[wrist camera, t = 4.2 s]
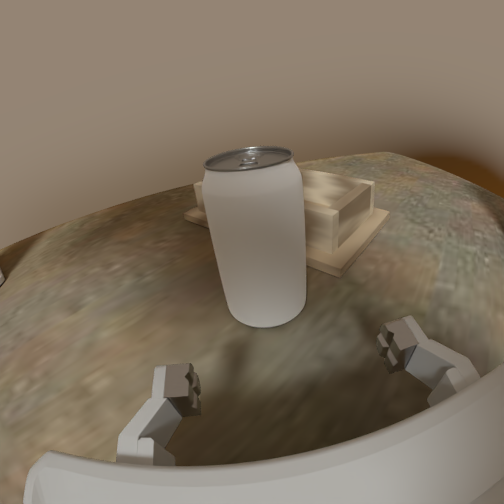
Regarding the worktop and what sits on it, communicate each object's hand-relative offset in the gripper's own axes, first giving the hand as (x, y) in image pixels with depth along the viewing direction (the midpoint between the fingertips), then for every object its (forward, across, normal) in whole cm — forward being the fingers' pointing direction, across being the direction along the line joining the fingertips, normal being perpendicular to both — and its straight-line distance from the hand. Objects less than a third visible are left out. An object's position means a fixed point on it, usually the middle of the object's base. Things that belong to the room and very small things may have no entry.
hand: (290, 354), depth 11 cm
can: (+10, 0, +7) cm, 12 cm away
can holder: (+25, -5, +6) cm, 26 cm away
